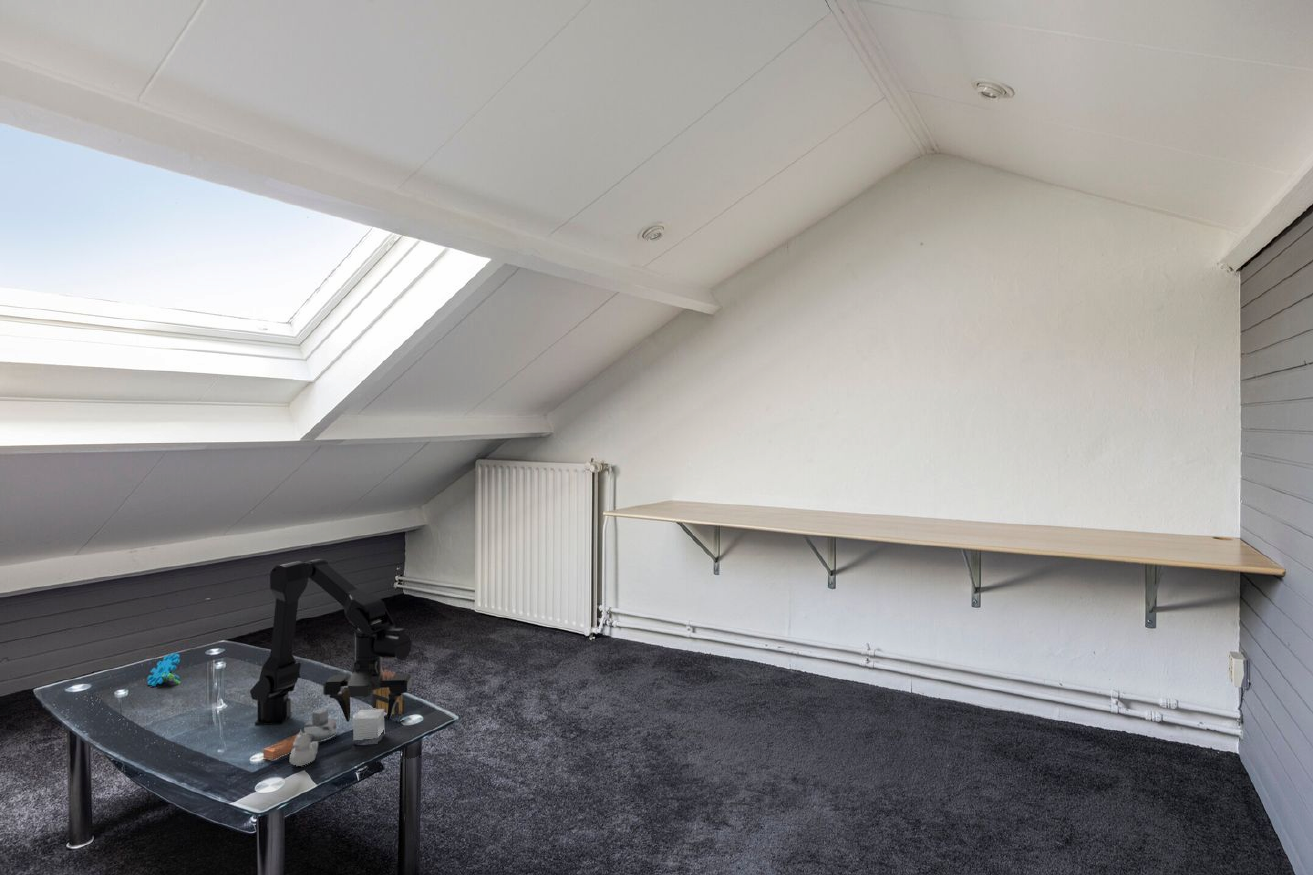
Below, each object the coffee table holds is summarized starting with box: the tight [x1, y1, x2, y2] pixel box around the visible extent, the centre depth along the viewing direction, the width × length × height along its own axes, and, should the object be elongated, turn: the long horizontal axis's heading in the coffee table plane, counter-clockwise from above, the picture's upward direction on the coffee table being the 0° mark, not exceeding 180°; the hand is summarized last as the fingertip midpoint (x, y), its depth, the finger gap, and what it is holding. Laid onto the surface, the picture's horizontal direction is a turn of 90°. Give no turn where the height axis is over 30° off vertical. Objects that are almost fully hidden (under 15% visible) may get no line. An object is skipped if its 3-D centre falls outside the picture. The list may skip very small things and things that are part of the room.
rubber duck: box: [289, 728, 319, 767], centre depth 168 cm, size 5×7×8 cm
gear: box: [147, 652, 181, 687], centre depth 219 cm, size 11×6×10 cm
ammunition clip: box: [371, 667, 405, 715], centre depth 194 cm, size 11×2×12 cm, turn 55°
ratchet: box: [262, 708, 337, 760], centre depth 178 cm, size 18×7×6 cm, turn 155°
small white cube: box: [352, 708, 385, 741], centre depth 180 cm, size 6×6×6 cm
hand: (368, 720), depth 180 cm, fingers open, 9 cm apart
